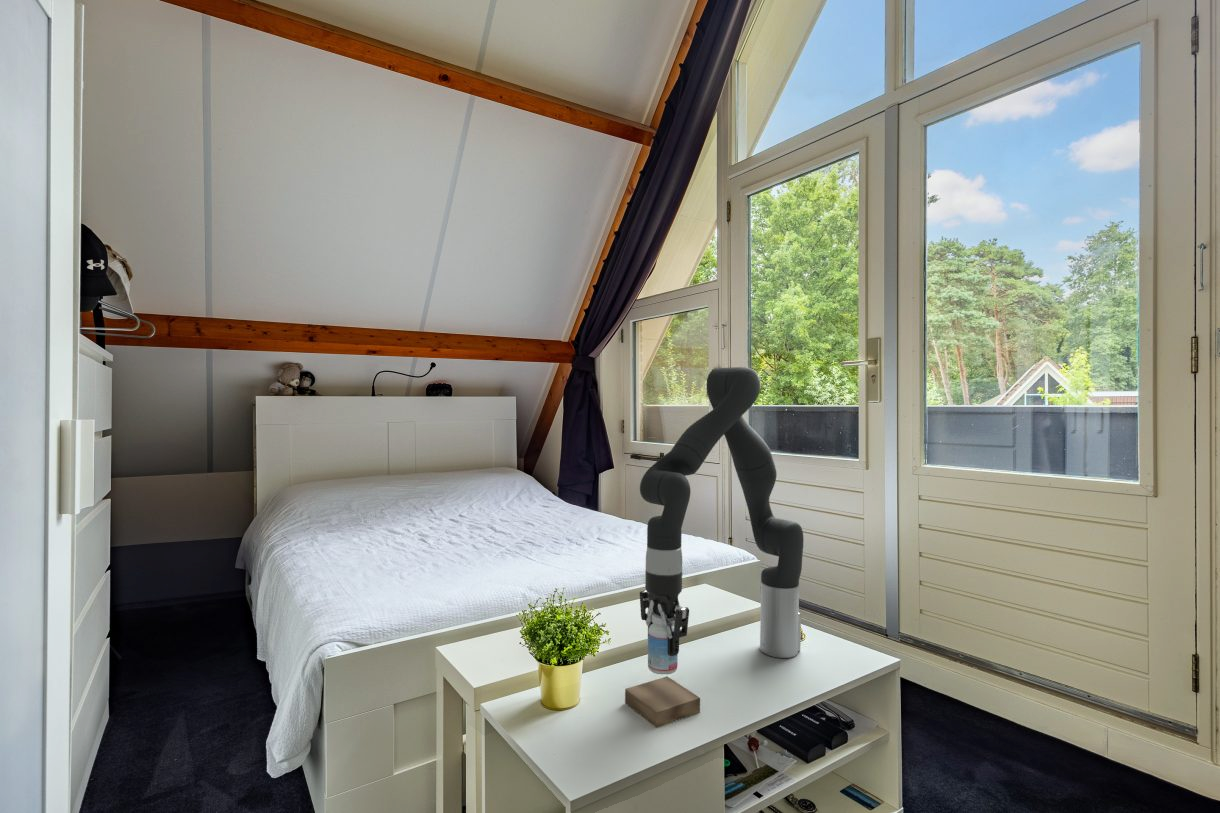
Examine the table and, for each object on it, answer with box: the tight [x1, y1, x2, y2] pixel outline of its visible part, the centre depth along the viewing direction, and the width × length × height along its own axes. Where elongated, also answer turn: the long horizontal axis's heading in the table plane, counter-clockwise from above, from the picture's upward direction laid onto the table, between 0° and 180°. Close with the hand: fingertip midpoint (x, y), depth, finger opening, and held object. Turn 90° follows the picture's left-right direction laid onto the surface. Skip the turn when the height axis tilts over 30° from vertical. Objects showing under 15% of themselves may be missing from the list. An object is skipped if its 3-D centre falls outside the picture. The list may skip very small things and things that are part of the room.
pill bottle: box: [647, 613, 679, 675], centre depth 126 cm, size 6×6×11 cm
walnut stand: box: [624, 676, 701, 728], centre depth 127 cm, size 11×11×3 cm
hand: (662, 648), depth 126 cm, fingers closed on pill bottle, 6 cm apart
